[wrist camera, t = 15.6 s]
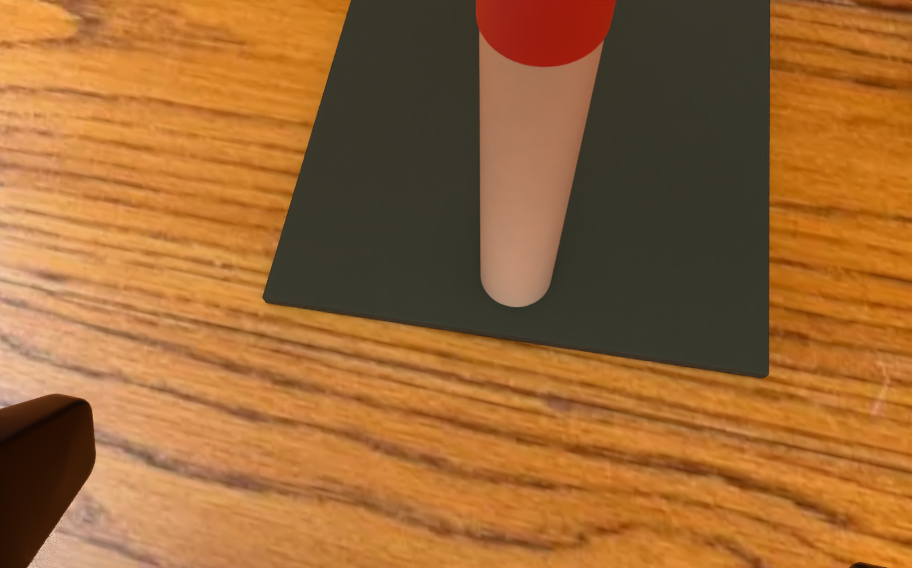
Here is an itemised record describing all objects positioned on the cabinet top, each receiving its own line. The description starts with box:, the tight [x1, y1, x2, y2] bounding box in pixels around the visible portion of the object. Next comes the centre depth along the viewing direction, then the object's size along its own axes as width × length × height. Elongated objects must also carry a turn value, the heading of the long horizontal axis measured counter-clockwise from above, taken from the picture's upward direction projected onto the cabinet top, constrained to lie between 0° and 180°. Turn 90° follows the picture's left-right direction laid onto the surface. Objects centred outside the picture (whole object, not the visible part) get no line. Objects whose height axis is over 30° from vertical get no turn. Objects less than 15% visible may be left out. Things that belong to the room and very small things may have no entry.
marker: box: [476, 0, 616, 307], centre depth 15 cm, size 2×2×12 cm
